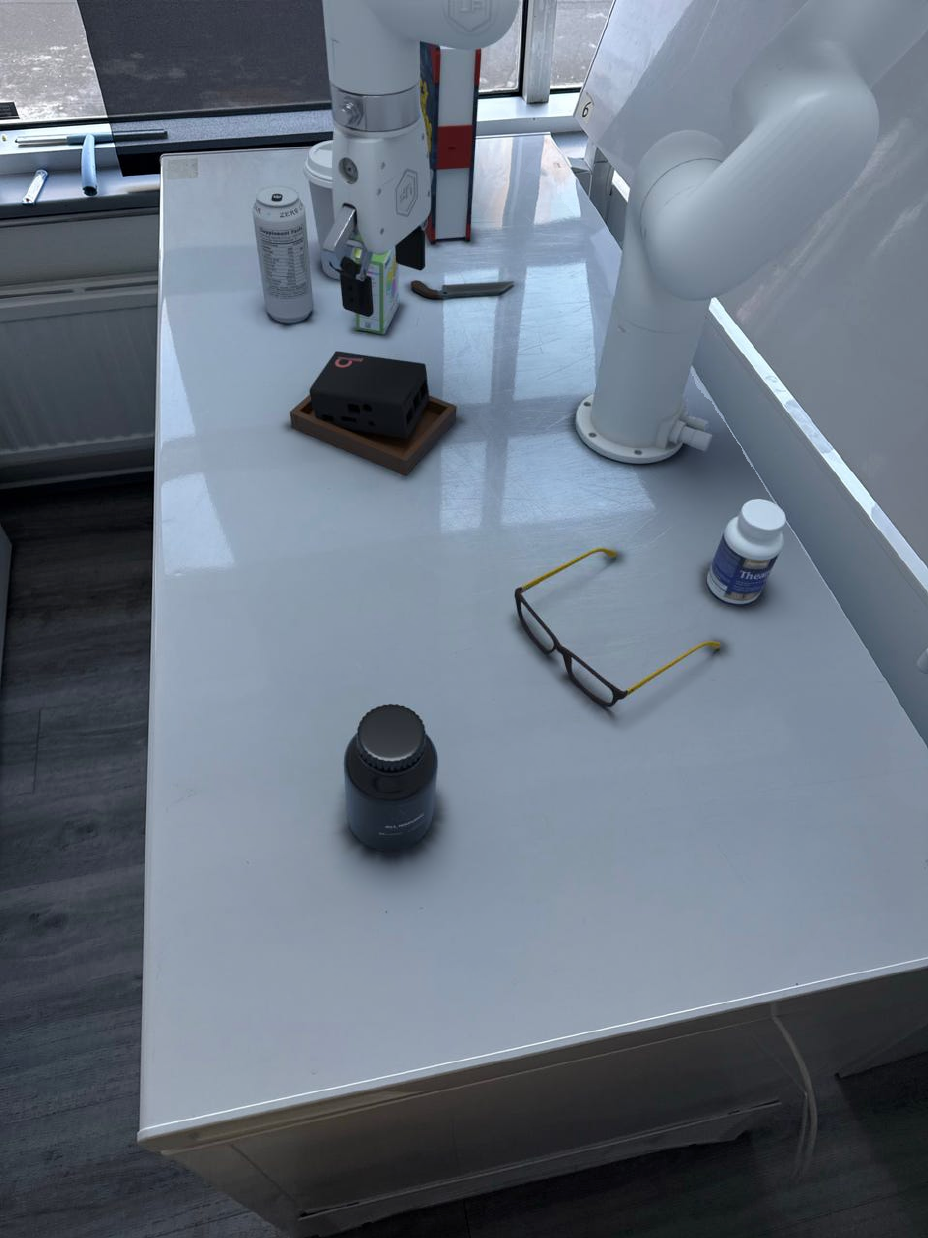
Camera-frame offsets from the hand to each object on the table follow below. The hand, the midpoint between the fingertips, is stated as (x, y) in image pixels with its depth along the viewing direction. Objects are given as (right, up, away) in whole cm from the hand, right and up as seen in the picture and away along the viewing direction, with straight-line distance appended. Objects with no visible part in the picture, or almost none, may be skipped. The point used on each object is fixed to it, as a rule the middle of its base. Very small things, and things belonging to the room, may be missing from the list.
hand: (385, 288), depth 89 cm
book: (+3, +30, +46) cm, 55 cm away
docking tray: (-2, -11, +12) cm, 17 cm away
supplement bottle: (+2, -48, -18) cm, 51 cm away
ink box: (-3, +5, +26) cm, 27 cm away
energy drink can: (-14, +6, +26) cm, 30 cm away
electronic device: (-2, -10, +12) cm, 15 cm away
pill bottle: (+34, -30, 0) cm, 45 cm away
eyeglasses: (+22, -34, -5) cm, 41 cm away
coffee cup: (-8, +15, +33) cm, 37 cm away
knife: (+8, +11, +31) cm, 34 cm away
